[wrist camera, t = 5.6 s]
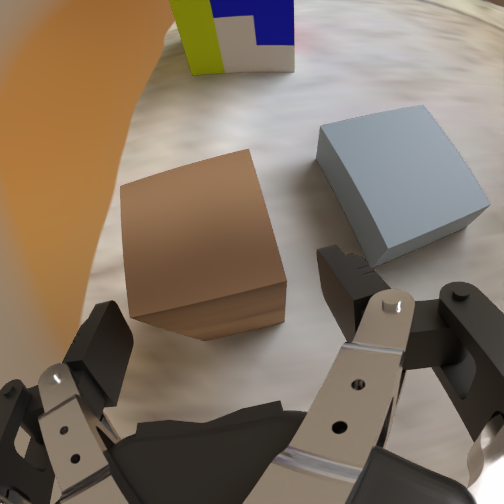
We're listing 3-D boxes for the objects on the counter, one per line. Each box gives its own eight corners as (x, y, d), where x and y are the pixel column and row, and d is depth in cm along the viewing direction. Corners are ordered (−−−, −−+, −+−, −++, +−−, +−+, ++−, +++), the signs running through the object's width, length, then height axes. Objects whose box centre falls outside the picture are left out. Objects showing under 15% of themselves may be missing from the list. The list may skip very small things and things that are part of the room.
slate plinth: (315, 161, 23) (320, 126, 19) (408, 136, 23) (423, 105, 19) (369, 270, 19) (388, 248, 16) (464, 228, 20) (491, 204, 16)
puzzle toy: (294, 72, 26) (293, -18, 17) (192, 75, 27) (166, -7, 18) (293, 26, 29) (291, -45, 20) (209, 29, 30) (194, -38, 21)
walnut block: (189, 265, 20) (120, 186, 11) (264, 246, 20) (248, 148, 11) (204, 340, 19) (129, 317, 9) (284, 321, 19) (286, 280, 9)
